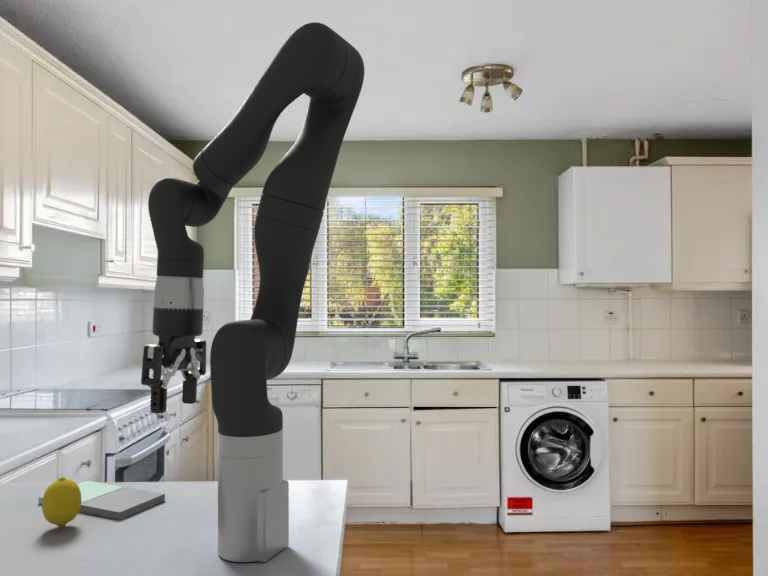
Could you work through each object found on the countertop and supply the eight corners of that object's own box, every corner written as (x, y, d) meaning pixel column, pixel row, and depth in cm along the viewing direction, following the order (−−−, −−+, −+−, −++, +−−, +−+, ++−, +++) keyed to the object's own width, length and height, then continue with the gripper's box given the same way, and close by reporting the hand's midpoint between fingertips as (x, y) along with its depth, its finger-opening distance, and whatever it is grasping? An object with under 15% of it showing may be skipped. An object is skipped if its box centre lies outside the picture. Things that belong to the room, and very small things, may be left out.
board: (164, 500, 104) (164, 493, 105) (119, 519, 95) (119, 512, 95) (87, 487, 112) (87, 480, 112) (38, 503, 103) (38, 496, 103)
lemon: (64, 535, 89) (64, 483, 89) (33, 533, 90) (33, 481, 90) (89, 522, 94) (89, 473, 95) (59, 519, 95) (60, 471, 96)
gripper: (174, 307, 84) (169, 418, 84) (222, 306, 98) (218, 402, 98) (129, 305, 86) (124, 414, 85) (182, 304, 100) (178, 398, 99)
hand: (174, 407), depth 92 cm, fingers open, 8 cm apart
